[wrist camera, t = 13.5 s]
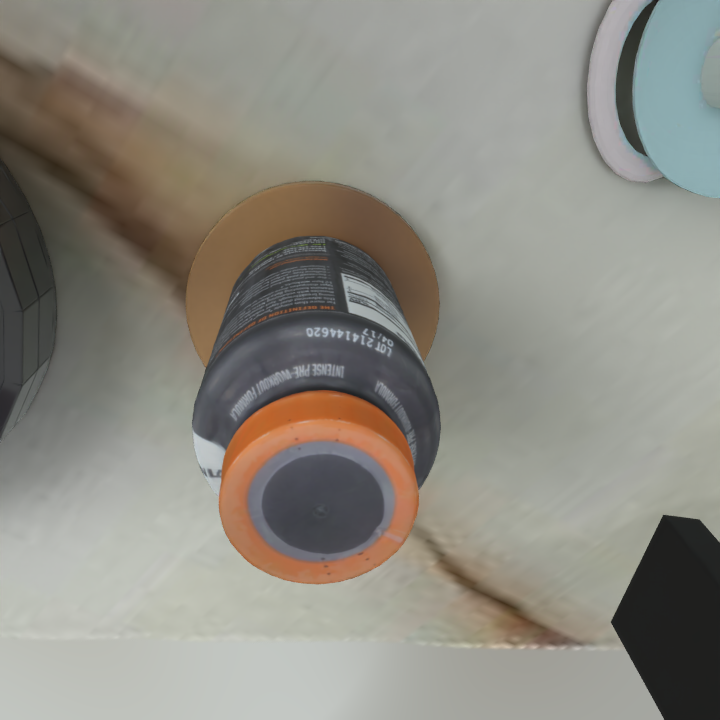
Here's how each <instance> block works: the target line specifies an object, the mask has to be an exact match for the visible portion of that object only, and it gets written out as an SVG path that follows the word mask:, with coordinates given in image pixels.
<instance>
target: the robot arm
mask: <svg viewBox="0 0 720 720" xmlns="http://www.w3.org/2000/svg"><path fill="white" fill-rule="evenodd" d="M611 623H612V625H613V627H614V629H615V631H616V632H617V634H618V636H619V638H620V640H621V642H622V643H623V645H624V647H625V649H626V651H627V652H628V654H629V656H630V658H631V660H632V661H633V663H634V665H635V667H636V669H637V671H638V672H639V674H640V676H641V678H642V679H643V681H644V683H645V685H646V687H647V689H648V690H649V692H650V694H651V696H652V698H653V700H654V701H655V703H656V705H657V707H658V709H659V711H660V712H661V714H662V716H663V718H664V720H720V543H719V541H718V540H717V539H716V538H715V537H714V536H713V535H712V533H711V532H710V531H709V530H708V529H707V528H706V526H705V525H704V524H703V523H702V522H701V521H700V520H699V519H691V518H683V517H676V516H668V515H663V517H662V519H661V521H660V523H659V525H658V527H657V529H656V531H655V533H654V535H653V537H652V539H651V541H650V543H649V545H648V547H647V549H646V551H645V553H644V555H643V557H642V560H641V562H640V564H639V566H638V568H637V570H636V572H635V574H634V576H633V578H632V580H631V582H630V584H629V586H628V588H627V590H626V592H625V594H624V596H623V598H622V600H621V602H620V604H619V606H618V608H617V610H616V613H615V615H614V617H613V619H612V621H611Z"/></svg>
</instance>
